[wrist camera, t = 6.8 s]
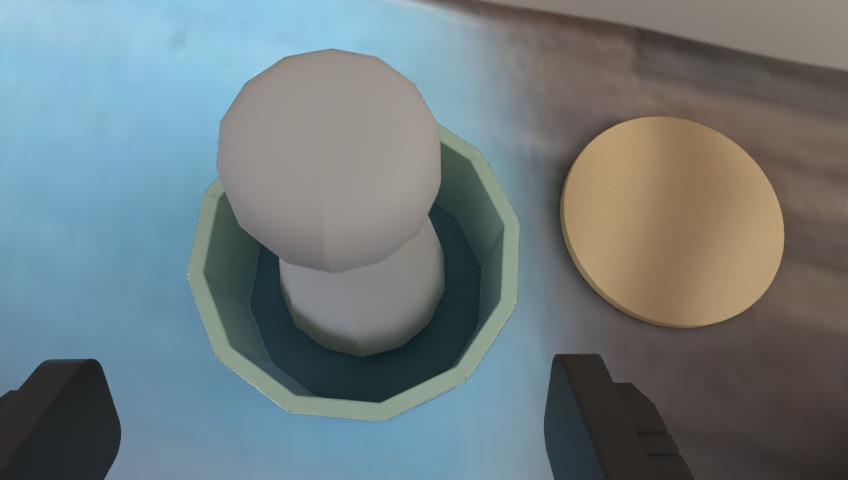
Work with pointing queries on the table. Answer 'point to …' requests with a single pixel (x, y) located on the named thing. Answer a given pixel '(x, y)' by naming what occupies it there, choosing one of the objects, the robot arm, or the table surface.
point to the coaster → (672, 222)
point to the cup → (237, 266)
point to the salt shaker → (340, 194)
